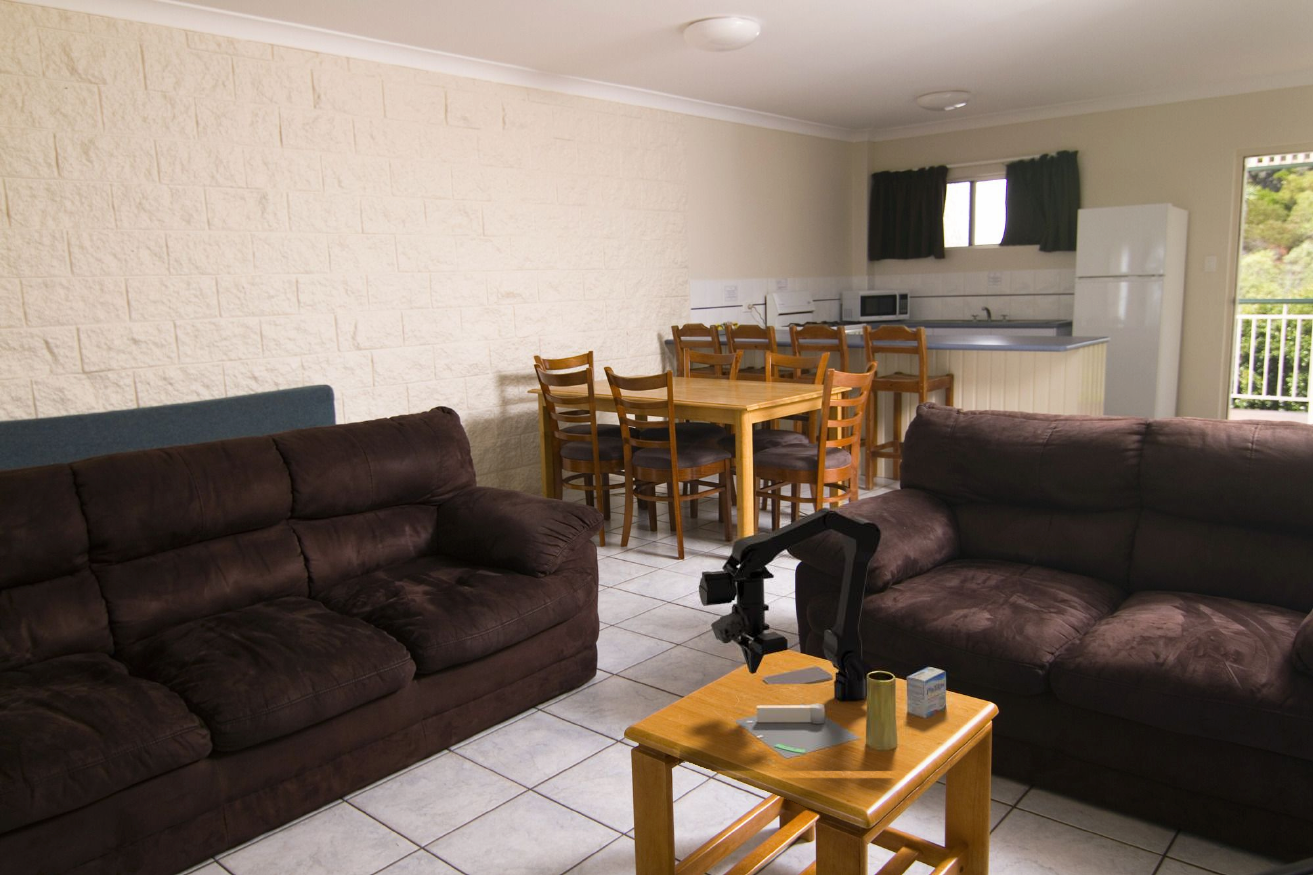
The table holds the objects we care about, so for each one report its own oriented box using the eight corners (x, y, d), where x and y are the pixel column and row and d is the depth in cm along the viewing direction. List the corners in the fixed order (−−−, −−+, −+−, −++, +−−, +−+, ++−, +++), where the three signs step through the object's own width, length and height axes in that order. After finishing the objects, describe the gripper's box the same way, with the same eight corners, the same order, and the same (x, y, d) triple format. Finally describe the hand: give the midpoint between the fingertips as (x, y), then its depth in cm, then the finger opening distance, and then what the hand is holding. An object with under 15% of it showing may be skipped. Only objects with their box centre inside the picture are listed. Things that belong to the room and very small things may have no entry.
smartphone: (761, 677, 210) (817, 665, 215) (761, 681, 210) (817, 669, 215) (776, 688, 203) (834, 676, 208) (777, 692, 203) (834, 679, 209)
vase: (892, 758, 170) (891, 684, 168) (860, 751, 173) (859, 678, 171) (902, 744, 175) (901, 673, 173) (871, 738, 178) (870, 667, 176)
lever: (823, 717, 185) (823, 703, 185) (825, 723, 182) (825, 709, 182) (757, 717, 186) (756, 703, 186) (757, 724, 183) (757, 709, 183)
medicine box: (925, 722, 184) (925, 681, 183) (906, 716, 187) (906, 675, 186) (946, 711, 189) (946, 670, 188) (927, 705, 193) (927, 665, 192)
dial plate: (803, 707, 193) (803, 702, 193) (860, 742, 176) (860, 737, 176) (734, 725, 186) (733, 720, 186) (786, 763, 169) (785, 757, 169)
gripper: (694, 595, 193) (697, 666, 195) (739, 618, 176) (742, 696, 178) (740, 587, 198) (742, 656, 199) (788, 609, 181) (790, 684, 183)
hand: (752, 672), depth 190 cm, fingers closed
